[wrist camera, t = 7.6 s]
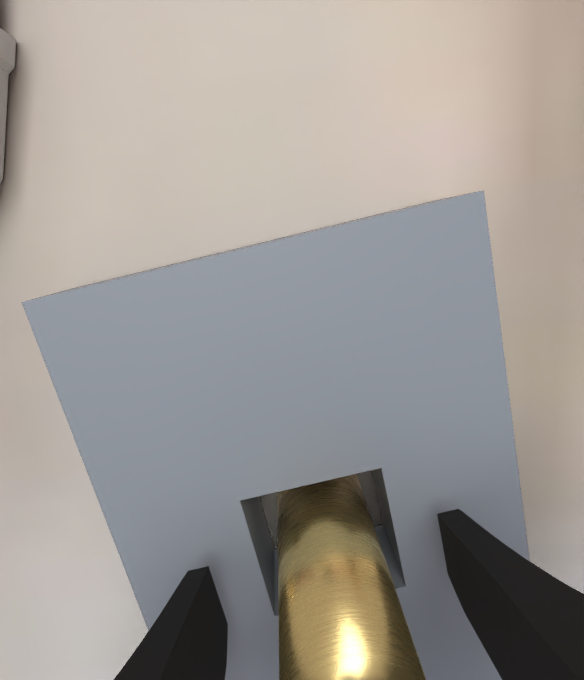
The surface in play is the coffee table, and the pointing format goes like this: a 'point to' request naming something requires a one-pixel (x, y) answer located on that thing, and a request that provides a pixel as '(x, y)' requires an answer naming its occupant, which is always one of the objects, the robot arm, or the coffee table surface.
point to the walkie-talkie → (5, 86)
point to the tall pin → (337, 590)
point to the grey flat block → (297, 412)
